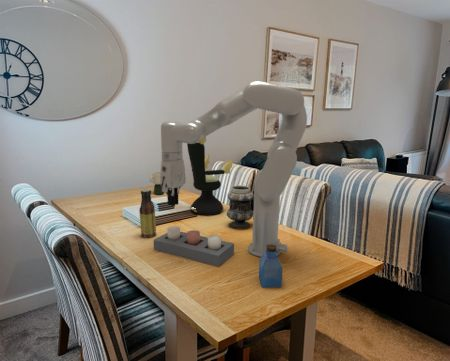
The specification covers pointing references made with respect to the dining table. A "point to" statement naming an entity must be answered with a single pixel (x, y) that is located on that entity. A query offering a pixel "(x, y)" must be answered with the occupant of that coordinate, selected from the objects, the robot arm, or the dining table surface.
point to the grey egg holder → (194, 249)
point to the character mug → (156, 183)
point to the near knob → (214, 242)
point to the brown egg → (193, 237)
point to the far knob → (173, 233)
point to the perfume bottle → (270, 268)
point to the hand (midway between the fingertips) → (173, 204)
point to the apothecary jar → (240, 206)
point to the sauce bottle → (147, 215)
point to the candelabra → (205, 179)
